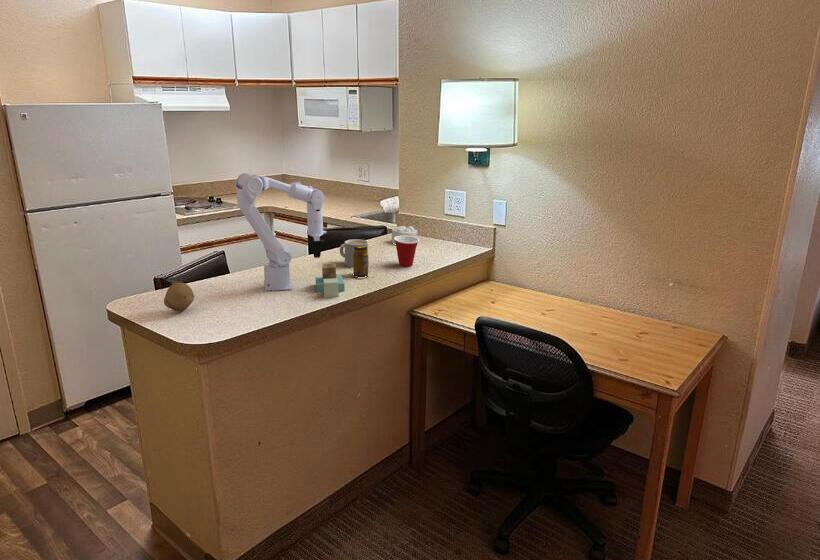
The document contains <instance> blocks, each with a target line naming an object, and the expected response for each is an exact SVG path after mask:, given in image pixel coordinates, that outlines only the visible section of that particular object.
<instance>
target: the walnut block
mask: <svg viewBox="0 0 820 560" xmlns="http://www.w3.org/2000/svg"><path fill="white" fill-rule="evenodd" d="M321 273H322V276H321V277H323V279H333V278H336V276H337V263H322V264H321Z"/></svg>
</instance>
